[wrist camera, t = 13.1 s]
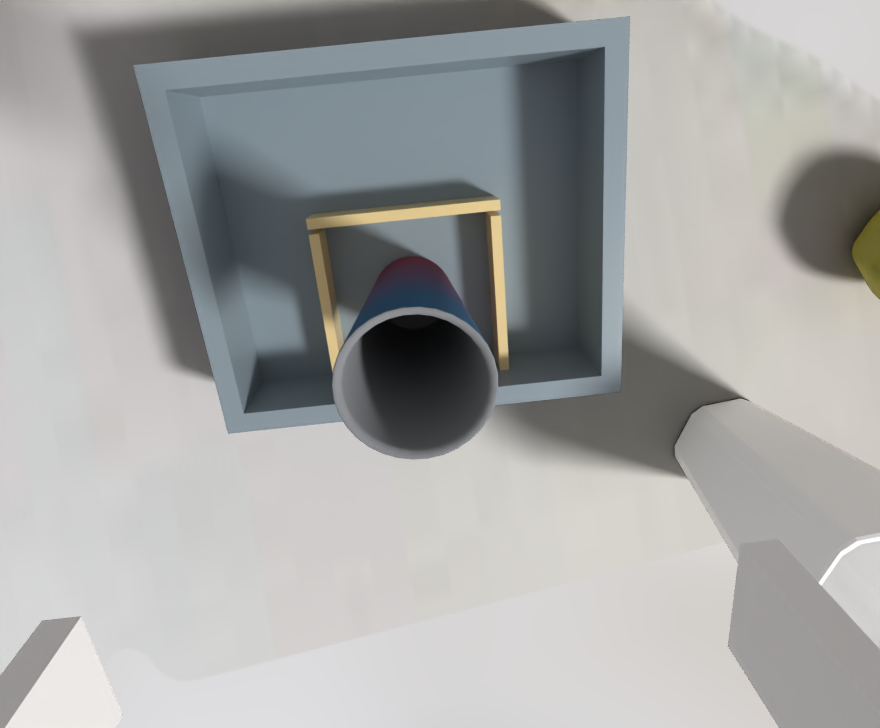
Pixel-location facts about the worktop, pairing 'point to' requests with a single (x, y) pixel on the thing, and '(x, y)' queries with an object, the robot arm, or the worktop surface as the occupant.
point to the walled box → (400, 202)
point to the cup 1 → (414, 366)
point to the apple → (869, 253)
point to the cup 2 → (789, 498)
